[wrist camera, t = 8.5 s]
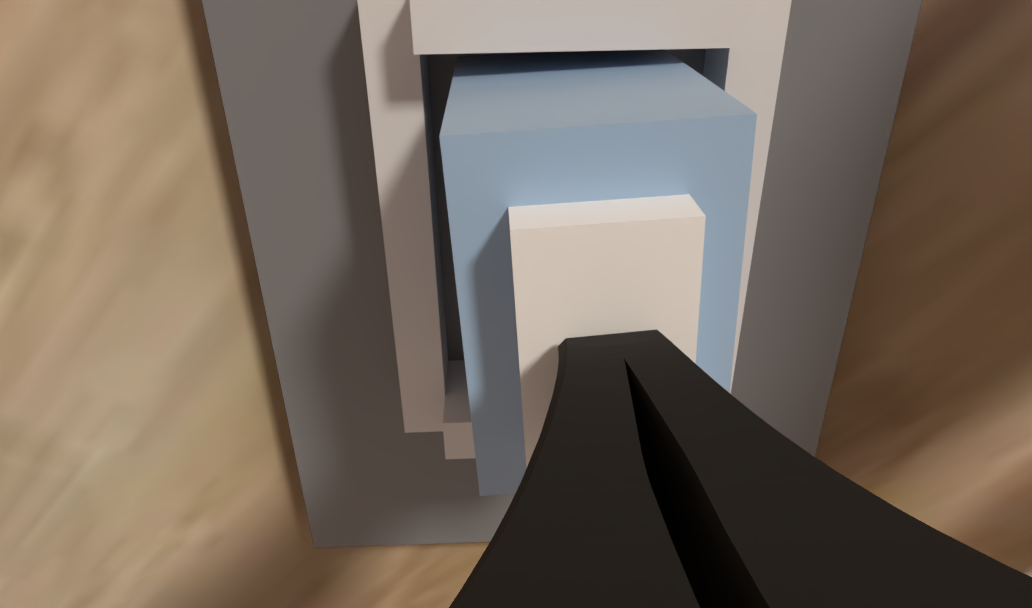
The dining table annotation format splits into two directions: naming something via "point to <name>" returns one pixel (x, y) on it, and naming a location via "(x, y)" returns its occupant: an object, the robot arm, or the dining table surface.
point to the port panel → (426, 232)
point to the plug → (587, 223)
